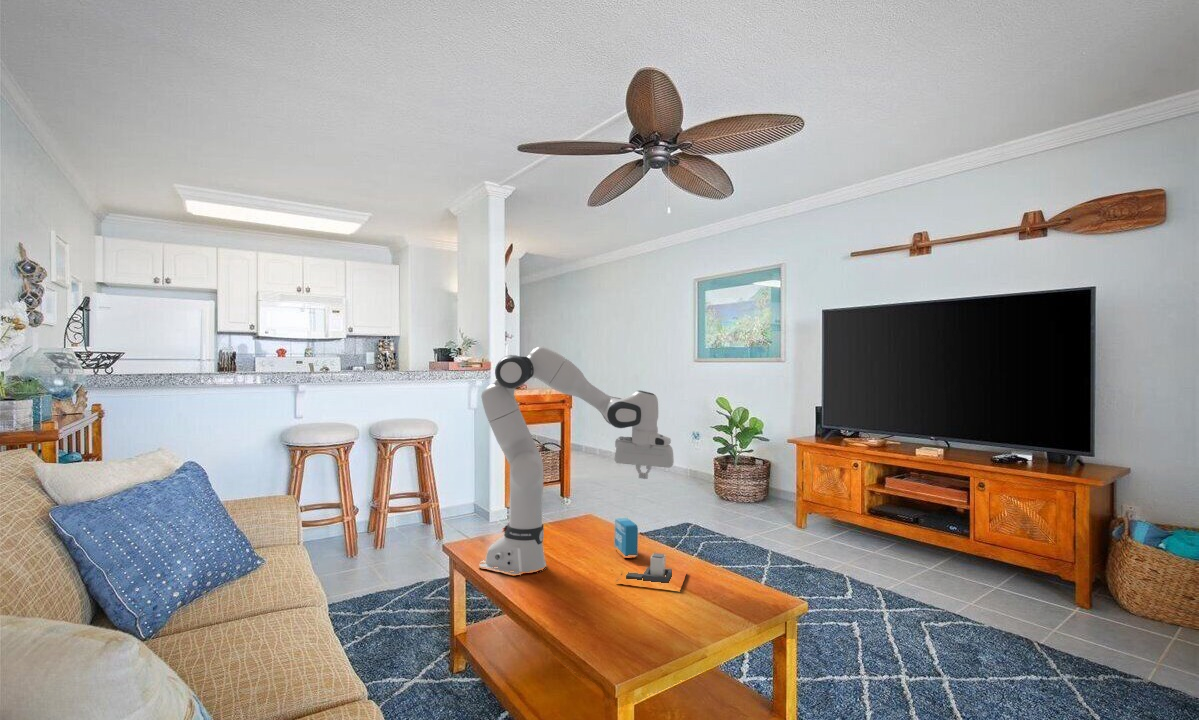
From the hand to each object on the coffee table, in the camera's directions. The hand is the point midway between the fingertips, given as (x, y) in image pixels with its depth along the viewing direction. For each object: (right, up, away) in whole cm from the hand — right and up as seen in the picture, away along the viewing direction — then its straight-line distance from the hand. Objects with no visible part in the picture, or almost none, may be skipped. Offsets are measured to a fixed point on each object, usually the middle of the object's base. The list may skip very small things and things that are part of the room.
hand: (643, 478), depth 198 cm
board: (+2, -30, -13) cm, 33 cm away
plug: (+3, -29, -16) cm, 33 cm away
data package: (-6, -30, +11) cm, 32 cm away
